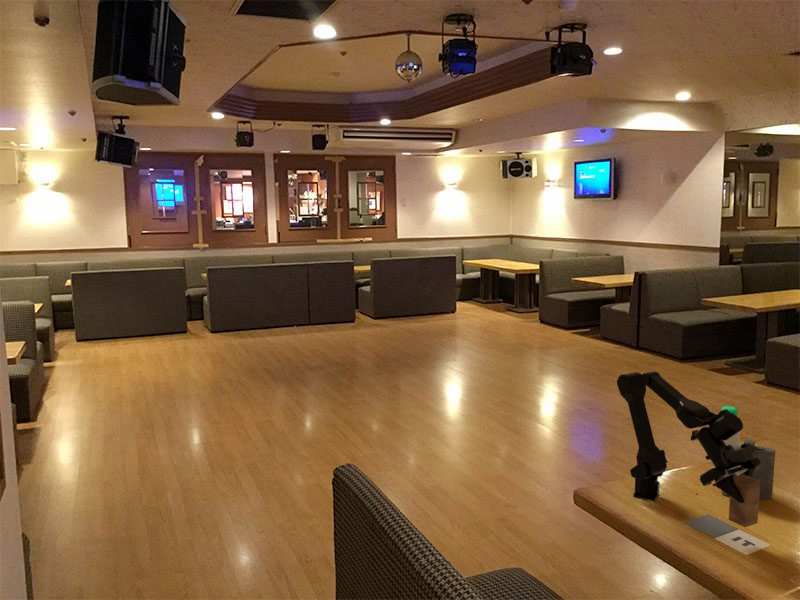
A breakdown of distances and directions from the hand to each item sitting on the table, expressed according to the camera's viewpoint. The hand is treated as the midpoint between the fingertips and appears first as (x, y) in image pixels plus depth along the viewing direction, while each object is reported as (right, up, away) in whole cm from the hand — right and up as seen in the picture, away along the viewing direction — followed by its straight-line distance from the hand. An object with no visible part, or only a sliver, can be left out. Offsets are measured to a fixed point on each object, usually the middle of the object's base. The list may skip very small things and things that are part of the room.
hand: (749, 500), depth 178 cm
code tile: (0, -13, +3) cm, 13 cm away
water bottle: (+14, -6, +42) cm, 45 cm away
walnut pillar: (0, -6, +2) cm, 7 cm away
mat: (-5, -11, +12) cm, 17 cm away
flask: (+15, -8, +31) cm, 35 cm away
